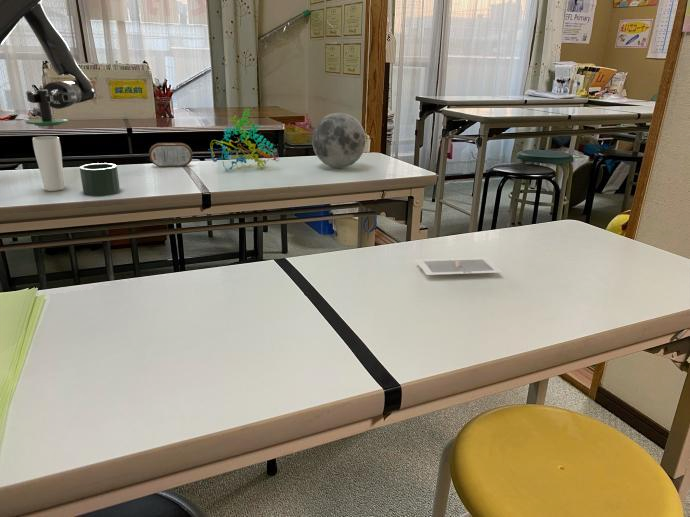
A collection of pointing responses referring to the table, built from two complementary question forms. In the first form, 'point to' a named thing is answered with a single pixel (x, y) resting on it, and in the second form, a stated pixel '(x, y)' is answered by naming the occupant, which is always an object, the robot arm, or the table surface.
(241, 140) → the molecular model
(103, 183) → the can
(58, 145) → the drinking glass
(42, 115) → the tin lid
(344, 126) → the moon model
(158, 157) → the tin
